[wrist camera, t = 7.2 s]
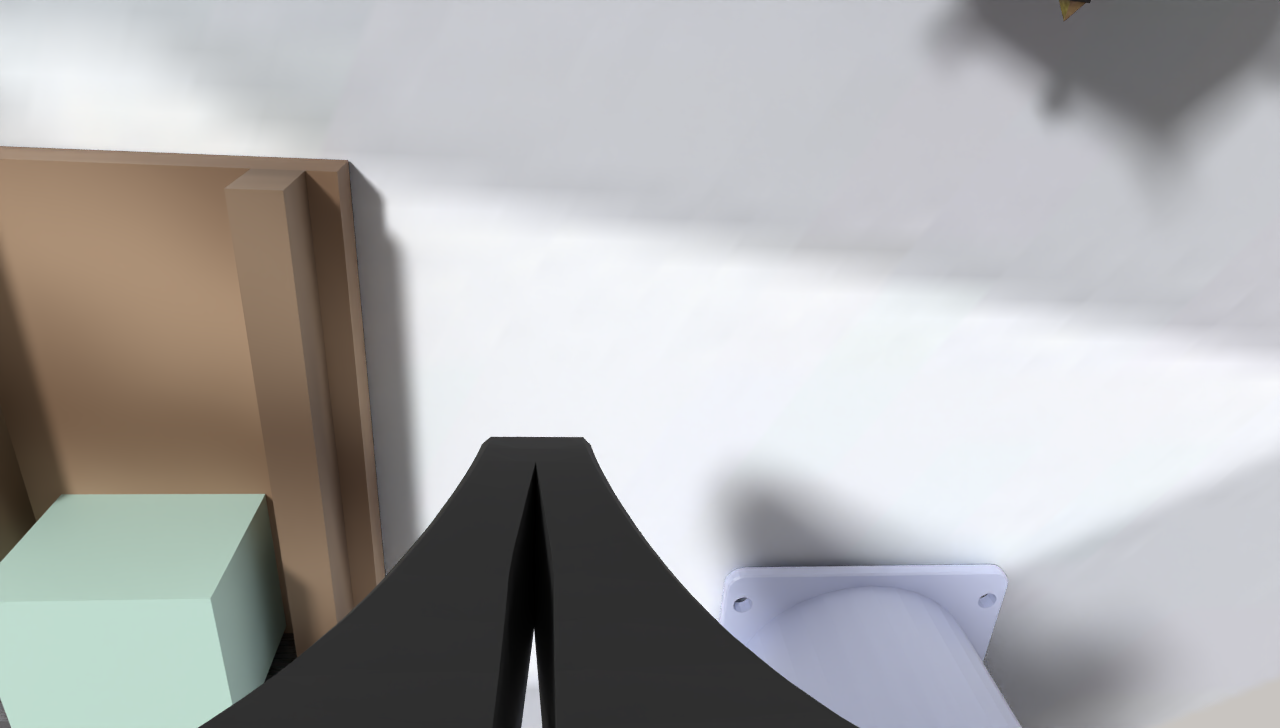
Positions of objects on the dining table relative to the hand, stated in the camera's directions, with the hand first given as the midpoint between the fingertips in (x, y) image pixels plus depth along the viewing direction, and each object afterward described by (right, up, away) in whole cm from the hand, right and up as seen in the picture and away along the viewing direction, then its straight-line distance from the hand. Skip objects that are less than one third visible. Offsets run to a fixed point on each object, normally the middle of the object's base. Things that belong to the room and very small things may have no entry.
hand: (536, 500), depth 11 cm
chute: (-9, 0, +8) cm, 13 cm away
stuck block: (-10, -3, +9) cm, 13 cm away
